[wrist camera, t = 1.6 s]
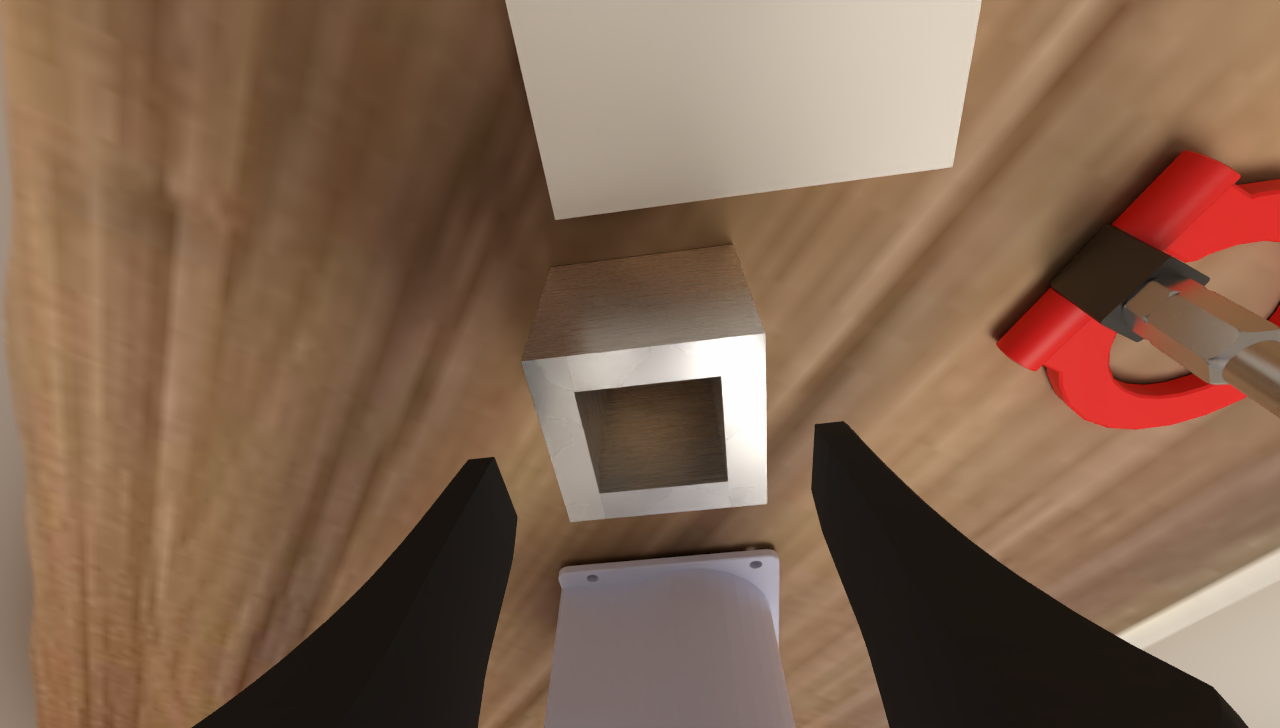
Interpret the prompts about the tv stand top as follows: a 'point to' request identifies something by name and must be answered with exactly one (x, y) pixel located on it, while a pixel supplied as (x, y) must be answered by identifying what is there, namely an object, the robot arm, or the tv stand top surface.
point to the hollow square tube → (651, 384)
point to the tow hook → (1159, 304)
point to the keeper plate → (737, 94)
